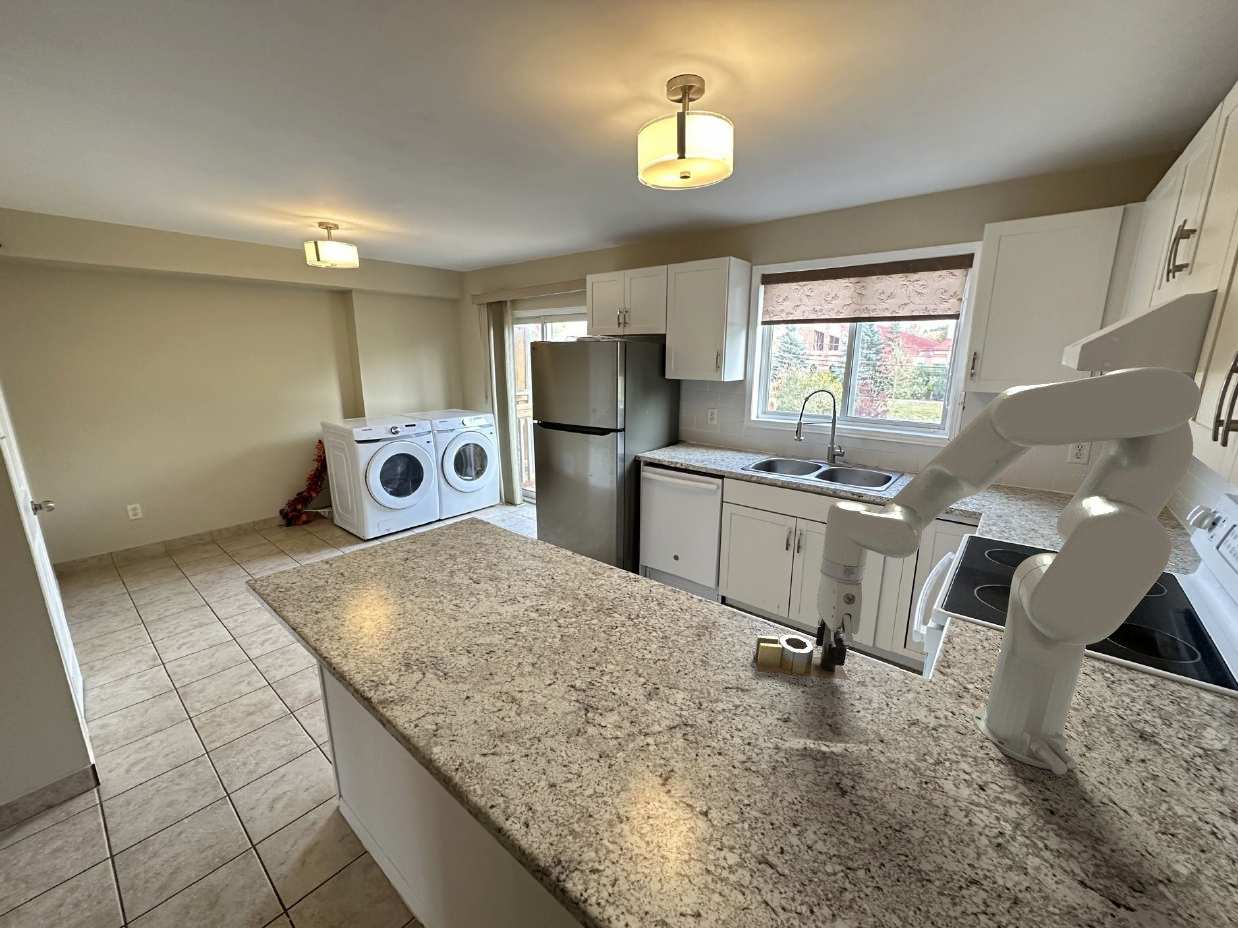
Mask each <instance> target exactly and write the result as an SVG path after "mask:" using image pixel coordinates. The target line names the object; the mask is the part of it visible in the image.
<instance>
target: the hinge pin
mask: <svg viewBox="0 0 1238 928" xmlns="http://www.w3.org/2000/svg"><path fill="white" fill-rule="evenodd" d="M837 629H842V627H839V628H838V627H837ZM838 638H841V634H838V633H836V639H838ZM828 644H831V630H830V628H829V627H828V626H827V624H826V625H825V632H824V639H823V646H821V654H820V657H821V659H820V667H821V668H822V669H823V670H825V671H829V672H833V671H835V667H836V665H828V664H827V662H826V658H827V651H828Z"/></svg>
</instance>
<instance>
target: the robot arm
mask: <svg viewBox="0 0 1238 928" xmlns="http://www.w3.org/2000/svg"><path fill="white" fill-rule="evenodd" d="M1201 402H1202V394H1201V389H1200V388H1199V385H1198V384H1197V383H1196V381H1195V380H1193V378H1191V377H1190V376H1189V375H1188V374H1185V373H1184V372H1182V371H1180V370H1177V369H1174V368H1169V367H1164V366H1146V367H1144V366H1143V367H1128V368H1122V369H1117V370H1113V371H1111V372H1107V373H1106V374H1103V375H1098V376H1093V377H1092V376H1091V377H1085V378H1081V379H1075V380H1074V379H1073V380H1065V381H1060V382H1054V383H1053V382H1052V383H1046V384H1045V383H1044V384H1036V385H1035V384H1034V385H1017V386H1014V387H1010V388H1008V389H1006V390H1003V391H1002V392H1000V393H999V394H998V395H997V396H996V397H994V398H993V399H992V400H991V401H990V402H988V404H987V405H986V406H984V408H983V409H982V410H980V412H979V413H978V414H977V415H975V416H974V418H973V419H971V420H970V422H969V423H968V424H967V425H966V426H965V427H963V429H962V430H961V431H960V432H959V433H957V434H956V435H955V437H954V438H952V440H951V441H949V442H948V443H947V445H945V446H944V447H943V448H942V449H941V450H940V451H939V452H938V453H937V454H936V455H935V456H934V457H933V458H932V459H931V460H930V461H929V462H928V463H926V465H925V467H924V468H922V469H921V471H920V472H919V473H917V474H916V475H915V476H914V477H913V478H912V479H911V480H910V481H909V482H908V483H906V485H904V487H902V489H900V490H899V491H898V492H897V493H896V494H895V495H894V496H893V497H892V498H891V499H890V500H889V501H888V502H887V503H886V505H884V506H883V507H882V508H881V509H880V511H879V512H878V513H874V512H873V510H872V509H871V508H870V507H868V506H867V505H864V504H861V503H858V502H852V501H836V502H833V503H832V504H831V505H830V506H829V508H828V512H827V517H826V526H825V532H824V539H823V547H822V554H821V561H820V567H819V572H820V574H821V576H820V580H819V585H818V591H817V595H816V596H817V598H816V609H817V612H818V615H819V616H818V620H817V625H818V626H817V630H816V635H815V645H816V647H822V646H823V639H824V632H825V625H826V624H827V626H828V627H829V628H830V630H831V644H828V651H827V658H826V662H827V664H828V665H839V666H844V665H845V663H846V656H847V650H848V648H849V646H850V645H852V644H853V643H854V636H853V635H858V633H859V632H860V626H861V617H862V607H863V584H862V583H863V582H864V578H865V571H866V566H867V560H868V553H869V551H871V552H873V553H876V554H878V555H881V556H884V557H888V558H890V559H899V560H900V559H906V558H909V557H911V556H914V554H916V553H917V551H918V550H919V548H920V546H921V542H922V532H923V531H924V530H925V529H926V528H927V527H928V526H929V525H930V524H931V523H932V522H934V521H935V520H936V519H937V518H938V517H939V516H940V515H941V514H942V513H944V512H945V511H947V510H948V509H949V508H950V507H951V506H953V505H954V504H956V503H958V502H959V501H961V500H963V499H966V498H968V497H972V496H975V495H977V494H979V493H981V492H983V491H985V490H986V489H988V487H990V486H991V485H992V484H993V483H994V482H995V481H996V480H998V479H999V478H1000V477H1001V476H1002V475H1003V474H1004V473H1005V472H1006V471H1007V470H1009V469H1010V467H1012V466H1013V465H1014V464H1015V463H1016V462H1017V461H1019V460H1020V458H1022V457H1023V456H1024V455H1026V454H1027V453H1028V452H1030V450H1031V449H1032V448H1038V447H1041V448H1042V447H1053V446H1067V445H1077V444H1084V443H1093V442H1095V443H1096V442H1101V441H1102V442H1103V443H1102V448H1101V452H1100V453H1099V456H1098V457H1097V459H1096V461H1095V462H1094V464H1093V466H1092V468H1091V470H1090V471H1089V473H1088V475H1087V476H1086V477H1085V479H1084V480H1083V481H1082V483H1081V484H1080V485H1079V488H1078V489H1077V491H1076V492H1075V493H1074V495H1073V497H1072V498H1071V499H1070V500H1069V502H1068V503H1067V504H1066V505H1065V507H1064V508H1063V510H1062V511H1061V513H1060V514H1059V516H1058V518H1057V521H1056V530H1057V534H1058V536H1059V537H1060V540H1061V541H1062V543H1063V544H1062V547H1061V548H1060V549H1059V550H1058V552H1057V553H1055V552H1051V553H1050V552H1047V553H1046V552H1045V553H1044V552H1043V553H1038V554H1035V555H1031V556H1029V557H1027V558H1026V559H1024V560H1023V561H1022V562H1021V563H1020V564H1018V566H1017V567H1016V569H1015V571H1014V574H1013V576H1012V580H1011V584H1010V590H1009V591H1010V592H1009V599H1008V606H1007V607H1008V608H1007V615H1006V620H1005V625H1004V629H1003V634H1002V639H1001V641H1000V646H999V651H998V655H997V659H996V663H995V668H994V672H993V677H992V681H991V685H990V690H989V695H988V698H987V704H986V706H983V707H981V706H980V707H979V708H976V709H975V710H974V711H973V713H972V715H971V721H972V722H973V724H974V725H975V727H976V728H977V730H978V731H979V732H980V733H982V734H983V736H984V737H985V738H986V739H988V741H989V742H990V743H992V744H993V745H994V747H995V748H996V749H997V750H998V751H999V752H1000V753H1003V754H1004V755H1006V756H1008V757H1010V758H1012V759H1014V760H1016V761H1018V762H1021V763H1024V764H1026V765H1029V766H1033V767H1037V768H1040V769H1045V770H1051V771H1052V772H1053V774H1056V775H1059V776H1061V775H1064V774H1066V773H1067V772H1068V769H1074V768H1076V767H1077V765H1078V763H1077V761H1076V760H1074V758H1072V755H1073V754H1072V750H1071V749H1070V747H1069V746H1068V744H1067V743H1068V738H1067V737H1065V735H1063V734H1064V732H1065V731H1064V730H1065V726H1066V723H1067V719H1068V715H1069V711H1070V708H1071V704H1072V701H1073V697H1074V694H1075V693H1074V692H1075V690H1076V685H1077V682H1078V678H1079V674H1080V672H1081V668H1082V664H1083V661H1084V656H1085V652H1086V648H1087V645H1092V644H1096V643H1099V642H1101V641H1103V640H1105V639H1106V638H1107V637H1109V636H1111V635H1112V634H1113V633H1115V632H1116V631H1117V630H1118V629H1119V628H1120V626H1121V625H1123V623H1124V622H1125V621H1126V619H1127V618H1128V617H1129V615H1130V614H1131V613H1132V612H1133V611H1134V610H1135V608H1136V607H1137V606H1138V605H1139V603H1140V602H1141V600H1143V599H1144V598H1145V596H1146V595H1147V593H1148V592H1149V591H1150V590H1151V588H1152V587H1153V586H1154V585H1155V583H1156V582H1157V580H1158V579H1159V578H1160V576H1161V575H1162V574H1163V572H1164V571H1165V569H1166V567H1167V565H1168V563H1169V560H1170V557H1171V552H1172V541H1171V537H1170V535H1169V533H1168V531H1167V530H1166V528H1165V526H1164V525H1163V524H1162V523H1161V522H1160V520H1158V518H1159V516H1160V514H1161V512H1162V511H1163V510H1164V508H1165V506H1166V505H1167V503H1168V502H1169V501H1170V499H1171V498H1172V496H1173V494H1174V492H1175V491H1176V490H1177V488H1178V487H1179V486H1180V484H1181V482H1182V481H1183V479H1184V477H1185V476H1186V474H1187V472H1188V470H1189V468H1190V465H1191V462H1192V459H1193V453H1194V441H1193V433H1192V429H1191V426H1190V425H1191V424H1190V422H1189V421H1190V419H1192V418H1193V416H1195V414H1196V412H1197V411H1198V410H1199V408H1200V405H1201V404H1202V403H1201ZM837 627H838V628H839V627H842V628H841V629H837ZM836 633H838V634H840V635H841V636H840V638H838V639H836Z"/></svg>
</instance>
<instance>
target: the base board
mask: <svg viewBox="0 0 1238 928" xmlns="http://www.w3.org/2000/svg"><path fill="white" fill-rule="evenodd" d="M751 653H752V656H753V659H754V662H755V665H756V668H757V671H758V672H764V673H773V674H774V673H775V674H784V675H785V674H787V675H795V676H805V677H819V678H829V679H840V680H850V678H849V676H848V674H847V673H846V670H845V669H844V668H843V667H842V666H839V665H836V667H835V671H833V672H829V671H825V670H823V669H822V668H821V667H820V659H821V656H813V657H812V664H811V670H810V671H808V672H807V673H806V674H797V673H792V672H791V673H790V672H789V671H787V670H785V669H783V668H781V667H780V666H779V668H772V667H761V666H758V658H755V651H753V650H752V651H751Z"/></svg>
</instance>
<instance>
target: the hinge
mask: <svg viewBox="0 0 1238 928" xmlns="http://www.w3.org/2000/svg"><path fill="white" fill-rule="evenodd" d="M755 642H756V643H755V649H754V650H755V658H758V666H761V667H772V668H779V666H780V667H781V668H783V669H785V670H787V671H789V672H790V673H791V672H792V673H797V674H806V673H807V672H808V671H810V670H811V664H812V657H814V651H815V648H814V646H813V644H812V642H811V641H810V640H809V639H806V638H804V637H803V636H800V635H794V634H784V635H783V636H781V637H780V638H779V637H778V636H770V635H759V634H757V635H756V641H755Z"/></svg>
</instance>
